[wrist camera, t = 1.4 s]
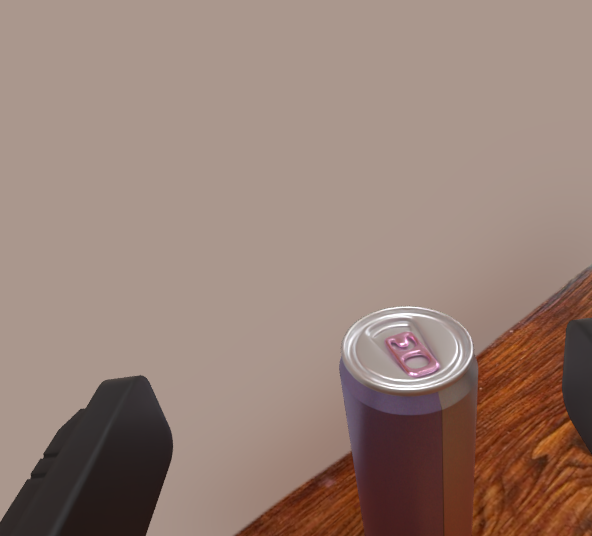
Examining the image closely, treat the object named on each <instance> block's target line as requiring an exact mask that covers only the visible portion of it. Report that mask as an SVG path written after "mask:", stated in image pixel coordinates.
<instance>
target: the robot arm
mask: <svg viewBox="0 0 592 536" xmlns="http://www.w3.org/2000/svg"><path fill="white" fill-rule="evenodd" d="M562 392H563V398H564V403H565V406H566V409H567V412H568V415H569V417H570V419H571V421H572V423H573V424H574V426H575V428H576V429H577V431H578V433H579V434H580V436H581V438H582V439H583V441H584V442H585V444H586V446H587V447H588V449H589V451H590V452H591V454H592V318H586V319H579V320H572V321H570V322H569V323H568V325H567V328H566V339H565V353H564V367H563V381H562ZM172 452H173V440H172V434H171V430H170V427H169V425H168V423H167V421H166V418H165V416H164V414H163V412H162V410H161V407H160V405H159V403H158V401H157V398H156V396H155V394H154V392H153V389H152V387H151V385H150V383H149V381H148V380H147V378H145V377H144V376H141V375H140V376H132V377H125V378H118V379H111V380H105V381H103V382H102V383H101V384H100V386H99V387H98V389H97V390H96V392H95V394H94V395H93V397H92V399H91V400H90V402H89V404H88V405H87V407H86V408H85V409H80V410H79V411H78V412H77V413H76V414H75V415H74V416H73V417H72V418H71V419H70V420H69V421H68V422H67V423H66V424H64V425H63V426H62V427H61V428H60V429H59V430H58V432H57V433H56V435H55V436H54V438H53V440H52V441H51V443H50V444H49V446H48V448H47V449H46V451H45V452H44V458H43V459H40V460H39V462H38V463H37V465H36V466H35V468H34V470H33V471H32V473H31V479H28V480H27V481H26V482H25V484H24V486H23V487H22V489H21V490H20V492H19V493H18V495H17V497H16V498H15V500H14V501H13V503H12V504H11V506H10V508H9V509H8V511H7V512H6V514H5V515H4V517H3V519H2V521H1V522H0V536H146V533H147V530H148V527H149V524H150V521H151V518H152V515H153V513H154V510H155V507H156V504H157V501H158V498H159V495H160V492H161V489H162V486H163V483H164V480H165V477H166V474H167V471H168V468H169V465H170V462H171V458H172Z"/></svg>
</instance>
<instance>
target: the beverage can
mask: <svg viewBox="0 0 592 536" xmlns="http://www.w3.org/2000/svg"><path fill="white" fill-rule="evenodd" d="M339 367H340V368H339V370H340V377H341V384H342V390H343V397H344V403H345V410H346V416H347V422H348V429H349V435H350V441H351V448H352V455H353V461H354V468H355V474H356V480H357V487H358V493H359V500H360V506H361V513H362V519H363V526H364V532H365V536H472V518H473V491H474V465H475V439H476V412H477V386H478V364H477V360H476V357H475V355H474V345H473V342H472V339H471V336H470V334H469V333H468V331H467V330H466V329H465V328H464V327H463V325H462V324H460V323H459V322H458V321H457V320H455V319H454V318H452V317H450V316H449V315H447V314H444V313H442V312H439V311H436V310H433V309H428V308H423V307H416V306H398V307H391V308H385V309H381V310H378V311H375V312H372V313H370V314H368V315H366V316H364V317H362V318H361V319H359V320H358V321H356V322H355V323H354V324H353V325H352V326H351V327H350V328H349V329H348V331H347V332H346V334H345V336H344V338H343V340H342V344H341V360H340V366H339Z"/></svg>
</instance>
